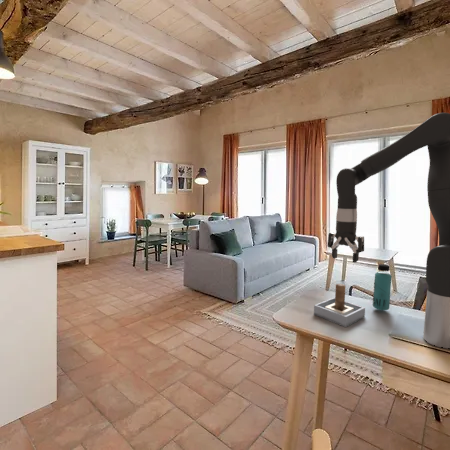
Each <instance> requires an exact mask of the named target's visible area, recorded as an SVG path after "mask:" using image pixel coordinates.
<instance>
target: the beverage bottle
mask: <svg viewBox="0 0 450 450" xmlns="http://www.w3.org/2000/svg"><path fill="white" fill-rule="evenodd" d="M377 270H378V271H377V272H375V274H374V282H373V296H372V297H373V298H372V306H373V308H374V309H377V310H381V311H388V310H389V309H390V306H391V305H390V304H391V288H392V278H393V276H392V275H391V274H390V272H389V271H390V265H389V264H386V263H385V264H383V263H380V264H378V267H377Z"/></svg>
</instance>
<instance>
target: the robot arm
mask: <svg viewBox="0 0 450 450" xmlns="http://www.w3.org/2000/svg"><path fill="white" fill-rule="evenodd" d="M424 147H427V152H428V157H429V168H428V174H427V189H426V190H427V202H428V203H427V205H428V207H429V211H430V213H431V215H432V218H433V220H434V221H435V224H436V227H437V232H438V245H437V246H435V247H433V248H431V249H430V250H429V252H428V254H427V255H426V256H427V257H426V268H425V280H426V281H425V282H426V285H427V290H426V301H425V313H424V321H423V322H424V324H423V335H422V336H423V337H422V338H423V340H424V339H425V340H426V341H427V342H426V341H425V340H424V341H425V342H426V343H427V344H430V345H432V346H434V345H435V347H438V348H441V347H443V349H448V348H450V113H449V112H439V113H435V114H433V115H431V116H430V117H429V118H427V119H426V120H424V121H423V122H422V123H421V124H419V125H418V126H417V127H415V128H414V129H413V130H411V131H410V132H408V133H406V134H405V135H404V136H402V137H401V138H398V139H397V140H396V141H394V142H392V143H390V144H389V145H387V146H385V147H384V148H383V147H382V148H381V149H379V150H378V151H376V152H374V153H373V154H370V155H369V156H367V157H365V158H364V159H362V160H361V161H360V162H359V163H358V164H356V165H355V166H353V167H351V168H347V167H345V168H343V169H341V170H340V171H338V173H337V175H336V182H335V184H336V190H337V191H336V192H337V197H338V198H337V210H336V216H335V217H336V218H335V220H336V221H335V222H336V223H335V232H329V233H328V237H327V245H326V246H327V247H328V248H331V257H332V259H334V260H335V259H337V258H338V247H340V246H345V247H349V248H350V249H351V250H352V252H353V253H352V263H357V262H358V261H359V256H360V255H359V254H360V253H363V252H365V236H363V235H361V236H359V235H357V234H356V233H357V228H358V227H357V225H358V224H357V221H358V212H357V211H358V210H357V209H358V197H357V194H356V186H357V185H359V184H362V183H363V182H365V181H366V180H368V179H369V178H370V177H373V176H375V175H377V174H379V173H381V172H383V171H385V170H387V169H388V168H391V167H392V166H393V165H395V164H397V163H398V162H399V161H401V160H402V159H404V158H405V157H407V156H409V155H410V154H412V153H413V152H416V151H419V150H420V149H423V148H424ZM335 239H336V240H335ZM334 240H335V241H334ZM356 242H357V243H356Z"/></svg>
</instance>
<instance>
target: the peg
mask: <svg viewBox="0 0 450 450" xmlns="http://www.w3.org/2000/svg"><path fill="white" fill-rule="evenodd" d="M334 298H335V309H337V310H339V311H344V304H345V301H346V300H345V299H346V285H345V284H343V283H336V284H335V295H334Z"/></svg>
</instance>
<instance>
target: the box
mask: <svg viewBox="0 0 450 450" xmlns="http://www.w3.org/2000/svg"><path fill="white" fill-rule="evenodd" d="M313 315H314V316H317V317H319V318H321V319H324V320H327V321H329V322H332V323H334V324H337V325H339V326H341V327H344V328H347V327H348V326H350V325H352V324H355V323H357V322H358V321H360V320H362V319H364V318H365V316H366V307H365V306H361V305H358V304H356V303H352V302H349V301H346V300H345V304H344V311H339V310H337V309H335V296H334V297H331V298H328V299H326V300H324V301H321V302H319V303H316V304H314V305H313Z"/></svg>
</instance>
